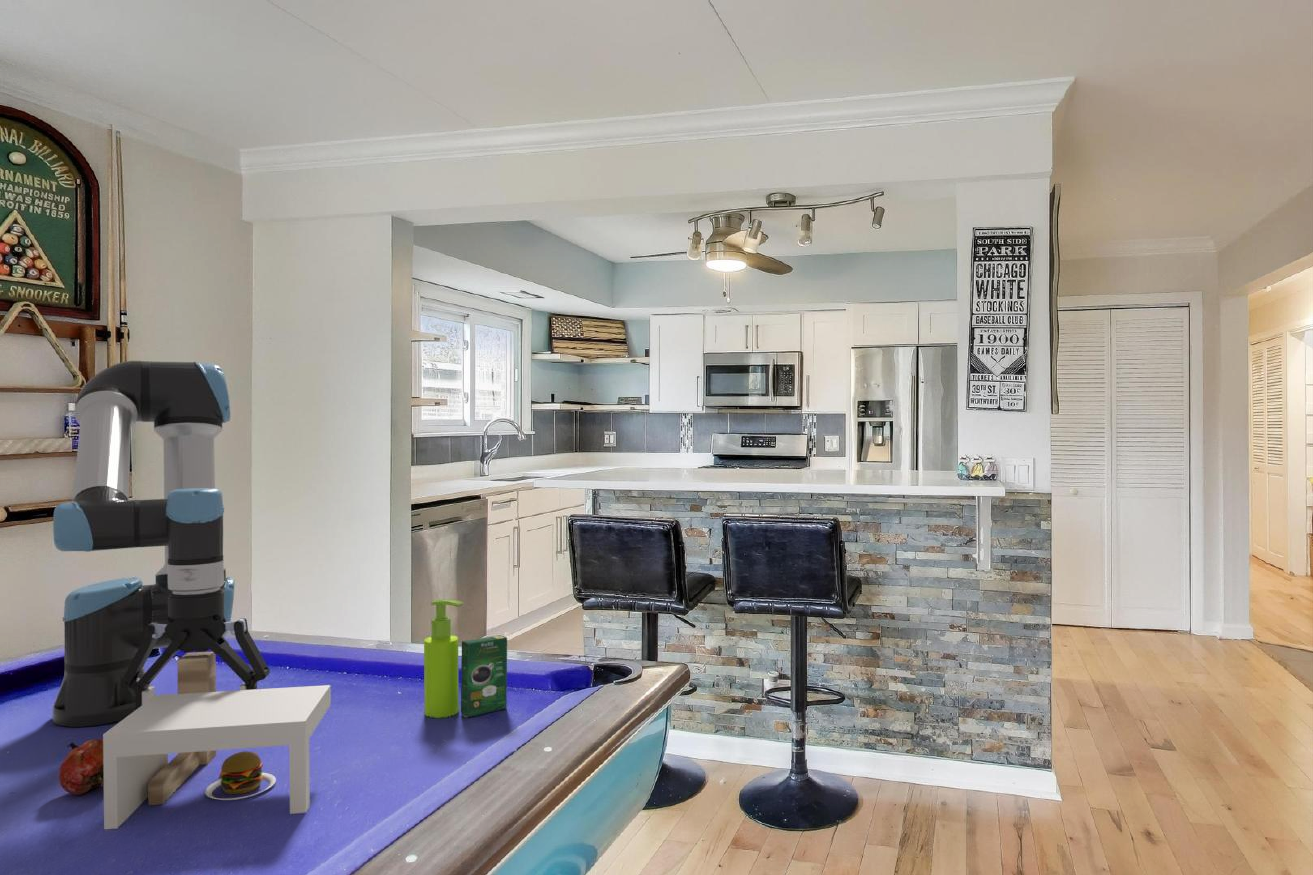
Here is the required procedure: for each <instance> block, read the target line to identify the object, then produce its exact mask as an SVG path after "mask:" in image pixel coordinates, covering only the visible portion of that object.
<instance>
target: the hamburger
mask: <svg viewBox="0 0 1313 875" xmlns="http://www.w3.org/2000/svg"><path fill="white" fill-rule="evenodd" d="M220 770H221V771H220V773H219V775H218V780H216V781H214V782H212V783H211V784H209V785H208V786H207V787H206V789H205V791H204V794H205V796H206V797H208V798H210V799H213V800H218V801H235V800H236V801H237V800H242V799H247V798H251V797H254V796H257V795H259V794H261V793H263V792H265V791H267V790H269V789H270V788H272V787H273V786H274V785H275V784H276V783H277V782H276V781H277V779H276V778H277V777H275V776H274V775H273V774H271V773H267V772H262V771H263V764H262V760H261V758H260V756H259V754H257V753H255V752H253V751H248V750H247V751H246V750H245V751H239V752H237V753H233V754H231V755H230V756H228V757H227V758H226V759H225V760H224V761H223V763H222V765H221V769H220ZM263 780H267V781H268V782H269V784H268V787H266V788H264V789H263V790H262V791H259V792H257V793H253V794H249V795H246V796H240V797H234V798H233V797H231V798H218V797H215V796H214V795H213V791H215V790H216V789H217V788H218V787H220V786H221V790H222V791H223V792H224V793H226V794H228V795H240V794H241V795H242V794H246V793H249V792H252V791H254V790H256V789H257V788H258V787H259V786H260V785H261V783H262V781H263ZM216 787H217V788H216Z"/></svg>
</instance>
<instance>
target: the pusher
mask: <svg viewBox="0 0 1313 875" xmlns="http://www.w3.org/2000/svg"><path fill="white" fill-rule="evenodd" d="M216 664H217V663H216V654H215V653H214V652H213V651H206V652H197V651H194V652H189V653H184V655H182V656H181V657H179V658H178V659H177V694H185V693H203V692H217V687H216V686H217V685H216V684H217V681H216V680H217V679H216V678H217V676H216V675H217V674H216V673H217V672H216V670H217V669H216ZM216 756H217V750H213V751H198V752H184V753H177V754H176V755H175V757H173V758H172V759H171V760H170V761H168V764H167V765H166V766H165V767H164V768H163V769H162V770H161V771H160V772H159V773H158V774H157V775H156V776H155V777H154V778H153V779H152V780H151V781H150V782H149V783H148V798H147V799H148V806H155V805H156V806H157V805H163V804H165V803H166V802H167V801H168V800H169V799H170V797H171V796H172V795H173V794H174V793H175V792H176V791H177V790H178V789H179V788H180V787H181V785H183V783H184V782H185V781H186V780H187V779H188V778H190V776H191V775H192V774H193V773H194V771H195V770H197V768H199V766H204V765H205V766H206V765H208V764H210V762H211V761H212V760H213V759H214V758H215V757H216ZM178 787H179V788H178ZM177 788H178V789H177ZM176 789H177V790H176ZM173 792H174V793H173ZM166 800H167V801H166ZM165 801H166V802H165ZM164 802H165V803H164Z"/></svg>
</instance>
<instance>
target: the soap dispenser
mask: <svg viewBox="0 0 1313 875" xmlns="http://www.w3.org/2000/svg"><path fill="white" fill-rule="evenodd" d="M464 602H465V601H464ZM464 602H463V601H460V600H457V599H452V598H451V599H449V598H447V599H445V598H443V599H435V600H433V601H431V603H430V604H431V606H435V616H434V617H433V618H432V619H431V620H430V621H431V622H430V628H431V630H430V631H431V632H430V633H431V634H430V635H431V636H428V637H426V638H424V639H423V658H424V659H423V660H424V661H423V662H424V663H423V667H424V668H423V671H424V672H423V673H424V674H423V676H424V679H423V681H424V684H423V685H424V689H423V690H424V716H426V717H428V716H429V717H428V718H432V717H434V718H436V719H441V718H442V717H443V718H449V717H452V716H455V715H457V714H458V713H459V710H460V706H459V705H460V702H459V697H460V696H459V694H460V692H459V691H460V690H459V637H458V636H456V635H452V618H450V617H449V616H446V615H447V612H446V611H447V606H453V607H456V608H458V607H461V606H462V605H463V604H464ZM451 715H452V716H451ZM448 716H449V717H448ZM443 718H442V719H443Z"/></svg>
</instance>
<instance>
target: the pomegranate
mask: <svg viewBox="0 0 1313 875" xmlns="http://www.w3.org/2000/svg"><path fill="white" fill-rule="evenodd" d="M66 747H67V748H70V747H71V751H70V752H68V754H67V756H66V758H65V759H64V761H63V762H62V763H61V765H60V767H59V772H58V780H59V784H60V786H61V788H62V789H63V790H64V791H65V792H67V793H70V794H72V795H74V796H81V795H83V794H85V793H87V792H89V791H90V790H93V789H96V788H99V787H101V786H102V787H104V764H103V738H102V739H101V738H95V739H89V740H87V741H85V742H84V743H83V744H82V745H77V744H75V742H74V741H73V742H70V743H69V744H68V745H66Z"/></svg>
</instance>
